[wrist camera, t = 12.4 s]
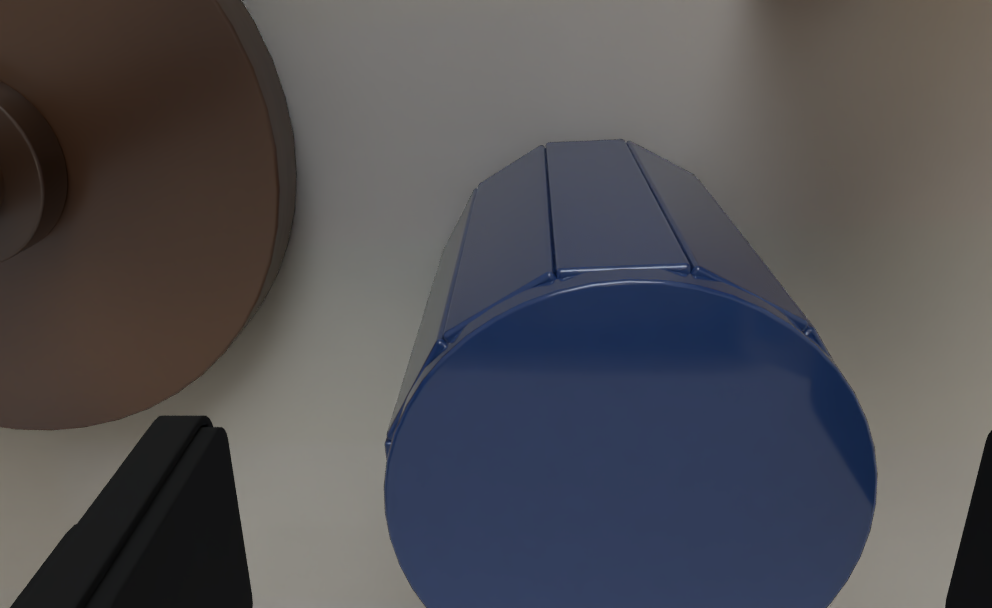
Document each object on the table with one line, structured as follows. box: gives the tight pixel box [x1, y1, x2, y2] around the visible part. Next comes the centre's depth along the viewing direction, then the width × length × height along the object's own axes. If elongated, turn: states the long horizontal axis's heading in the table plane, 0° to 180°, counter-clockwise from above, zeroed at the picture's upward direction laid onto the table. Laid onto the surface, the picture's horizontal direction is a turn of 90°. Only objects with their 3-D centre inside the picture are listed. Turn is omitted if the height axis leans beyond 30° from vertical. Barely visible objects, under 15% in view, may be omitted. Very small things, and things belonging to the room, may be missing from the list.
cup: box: [384, 139, 878, 608], centre depth 16 cm, size 7×7×9 cm
